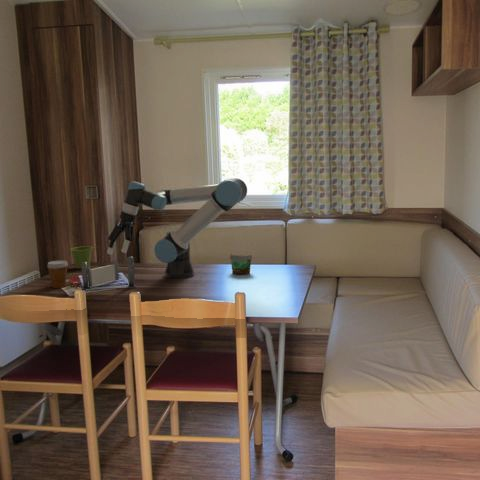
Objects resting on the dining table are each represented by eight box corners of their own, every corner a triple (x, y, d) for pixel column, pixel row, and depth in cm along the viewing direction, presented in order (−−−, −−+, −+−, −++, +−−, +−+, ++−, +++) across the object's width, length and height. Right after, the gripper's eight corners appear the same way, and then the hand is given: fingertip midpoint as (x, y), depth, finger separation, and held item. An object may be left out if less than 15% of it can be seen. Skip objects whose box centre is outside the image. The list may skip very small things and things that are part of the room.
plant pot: (84, 264, 300) (83, 245, 298) (98, 267, 293) (96, 247, 291) (67, 268, 291) (65, 248, 289) (80, 271, 284) (79, 251, 282)
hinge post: (90, 287, 249) (88, 261, 246) (89, 289, 245) (87, 262, 243) (82, 288, 248) (80, 261, 246) (81, 290, 245) (79, 263, 242)
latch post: (136, 285, 251) (134, 255, 248) (135, 287, 247) (133, 256, 245) (128, 286, 250) (126, 255, 248) (127, 288, 247) (126, 257, 244)
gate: (90, 287, 247) (89, 266, 245) (87, 286, 249) (86, 265, 247) (119, 279, 260) (118, 260, 259) (116, 278, 262) (115, 259, 260)
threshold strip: (127, 286, 250) (127, 285, 250) (126, 288, 247) (126, 287, 247) (91, 288, 248) (91, 287, 248) (90, 289, 245) (90, 289, 245)
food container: (226, 274, 271) (225, 255, 269) (230, 271, 277) (230, 253, 275) (248, 276, 266) (247, 257, 265) (252, 273, 272) (252, 254, 270)
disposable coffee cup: (63, 289, 247) (61, 264, 245) (44, 288, 249) (42, 264, 247) (73, 284, 256) (71, 260, 254) (55, 283, 258) (53, 259, 256)
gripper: (135, 210, 268) (123, 249, 271) (109, 209, 244) (96, 251, 247) (147, 215, 266) (135, 254, 269) (122, 214, 242) (109, 257, 245)
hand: (116, 253), depth 258 cm, fingers open, 13 cm apart
